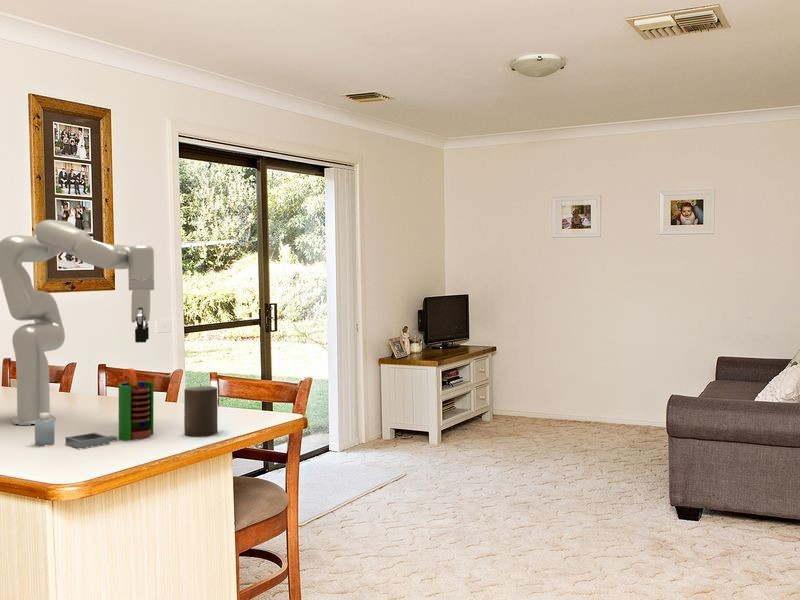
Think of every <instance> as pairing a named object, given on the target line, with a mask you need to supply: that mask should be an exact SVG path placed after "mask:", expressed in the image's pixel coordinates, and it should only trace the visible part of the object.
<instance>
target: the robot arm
mask: <svg viewBox="0 0 800 600" xmlns="http://www.w3.org/2000/svg"><path fill="white" fill-rule="evenodd" d="M33 231H34V232H33V234H34V236H33V235H32V236H31V235H9V236H7V237H4V238H2V239H1V240H0V282H1V284H2V288H3V289H2V290H3V292H4V296H5V297H4V298H5V300H6V303H7V307H8V310H9V314H10V316H11V317H12V318H13V319H14V320H16V321H23V322H25V321H34V323H26V324H24V325H21V326H19V327H18V328H17V329H16V330H14V332H13V334H12V347H13V352H14V357H15V368H16V373H15V374H16V405H17V406H16V409H17V410H16V412H17V414H16V415H17V417H14V418H12V420H11V422H12V424H13V425H16V424H18V426H32V425H31V424H35V420H36V419H40V413H45V412H48V413H49V418H54V421H55V420H56V416H55V415H52V414H51V410H50V409H51V407H50V405H51V404H50V403H51V402H50V401H51V400H50V398H51V397H50V396H51V395H50V366H49V360H48V359H47V357H46V354H45V352H52V351H55V350H58V349H60V348H61V347H62V346H63V345H64V342H65V338H66V336H65V335H66V334H65V328H64V324H63V321H62V317H61V314H60V309H59V307H58V304H57V301H56V299H55V298H54V297H53V295H52V294H51V293H50V292H47V291H44V290H35V288H34V286H33V283H32V279H31V276H30V274H29V272H28V270H26V268H25V267H24V266H23V263H42V262H46V261H49V260H50V259H52V258H55V257H56V256H58V255H59V254H61V253H65V254H67V255H70V256H74V257H75V258H76V259H78V260H79V261H81V262H83V263H86V264H88V265H91V266H93V267H97V268H101V269H104V270H128V273H127V274H128V277H127V278H128V291H131V306H130V307H131V313H130V314H131V316H130V317H131V319H130V321H131V323H133V324H134V323H135V329H134V339H135V340H134V341H135V343H147V340H149V339H150V337H149V335H150V334H149V333H150V331H149V323H148V322H149V321H150V318H151V291H155V252H154V251H155V250H154V248H153V247H152V246H150V245H144V244H143V245H141V244H140V245H125V244H124V245H123V244H111V243H109V244H107V243H104V242H101V241H98V240H95V239H92V238H91V236H90V234H89V232H87V231H86V230H83V229H80V228H77V227H76V226H75V225H74V224H73V223H72V222H70V221H67V220H58V219H57V220H56V219H44V220H41V221H40V222H39V223H37V224H36V225H35V228H34V230H33Z"/></svg>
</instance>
